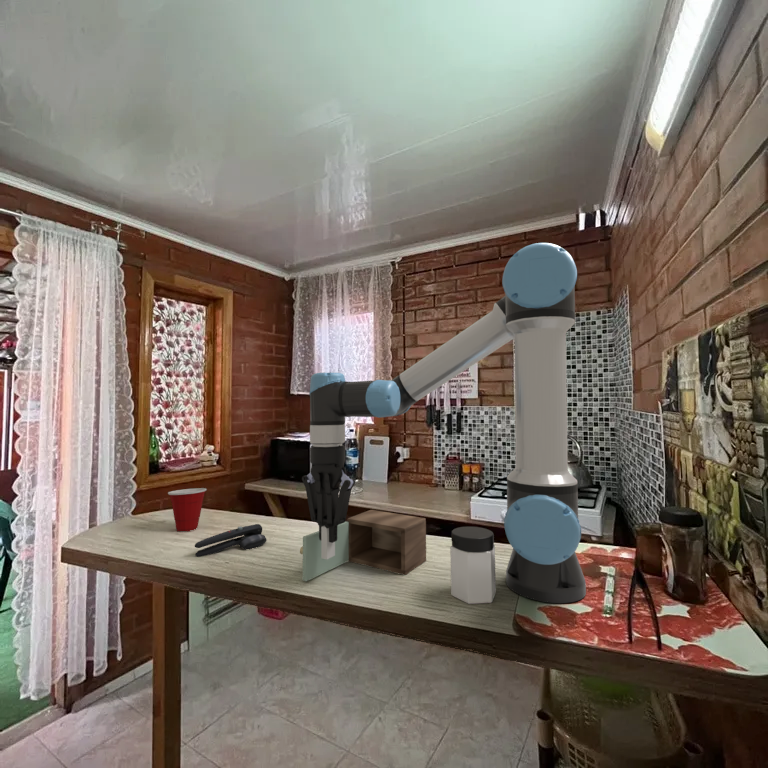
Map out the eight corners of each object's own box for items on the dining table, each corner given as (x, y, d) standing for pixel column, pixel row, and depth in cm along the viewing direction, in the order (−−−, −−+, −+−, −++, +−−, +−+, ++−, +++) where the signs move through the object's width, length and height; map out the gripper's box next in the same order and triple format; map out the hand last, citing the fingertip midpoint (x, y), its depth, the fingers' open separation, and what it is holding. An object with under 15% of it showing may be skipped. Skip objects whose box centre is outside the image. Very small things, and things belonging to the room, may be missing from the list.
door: (340, 558, 100) (340, 520, 100) (348, 560, 98) (348, 522, 99) (297, 578, 88) (297, 535, 89) (306, 581, 87) (306, 537, 87)
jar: (458, 582, 87) (457, 524, 88) (498, 588, 84) (497, 528, 84) (446, 600, 79) (445, 536, 80) (490, 608, 76) (489, 541, 76)
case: (426, 560, 99) (425, 518, 100) (405, 575, 91) (404, 528, 91) (371, 548, 108) (370, 509, 109) (347, 560, 100) (347, 518, 100)
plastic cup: (200, 522, 134) (200, 484, 135) (210, 529, 126) (211, 489, 127) (163, 528, 128) (163, 489, 128) (171, 536, 119) (172, 494, 120)
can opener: (259, 540, 117) (259, 519, 117) (268, 546, 111) (268, 525, 111) (191, 553, 106) (191, 531, 106) (197, 561, 100) (197, 538, 101)
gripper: (362, 444, 89) (363, 556, 88) (315, 442, 96) (316, 546, 95) (341, 447, 83) (342, 568, 81) (292, 445, 90) (292, 557, 88)
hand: (328, 556), depth 88 cm, fingers closed
